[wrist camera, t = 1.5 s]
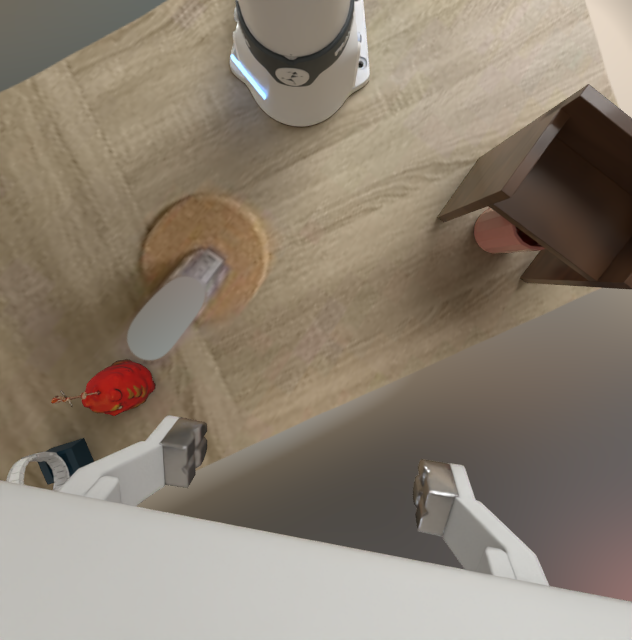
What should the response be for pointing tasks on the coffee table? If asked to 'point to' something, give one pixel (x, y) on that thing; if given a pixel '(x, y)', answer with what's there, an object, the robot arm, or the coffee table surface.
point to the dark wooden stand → (563, 191)
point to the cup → (501, 235)
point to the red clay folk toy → (115, 388)
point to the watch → (54, 463)
